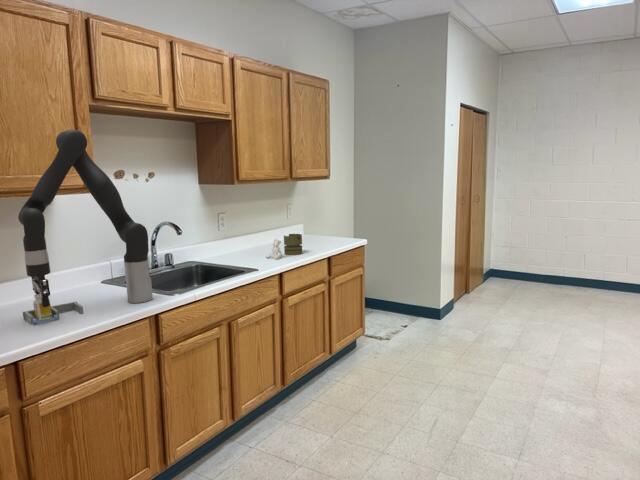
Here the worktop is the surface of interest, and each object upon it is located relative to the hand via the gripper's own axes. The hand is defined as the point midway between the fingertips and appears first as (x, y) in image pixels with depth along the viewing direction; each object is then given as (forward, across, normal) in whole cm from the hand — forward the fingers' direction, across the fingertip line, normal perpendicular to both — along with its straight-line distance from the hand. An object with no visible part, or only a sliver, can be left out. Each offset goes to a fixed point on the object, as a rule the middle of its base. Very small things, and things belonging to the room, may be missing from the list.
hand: (43, 304), depth 179 cm
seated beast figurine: (+8, +30, -132) cm, 136 cm away
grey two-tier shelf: (+6, +3, -4) cm, 8 cm away
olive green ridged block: (+9, +33, -148) cm, 152 cm away
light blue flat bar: (+6, -3, 0) cm, 7 cm away
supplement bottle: (+6, 0, 0) cm, 6 cm away
